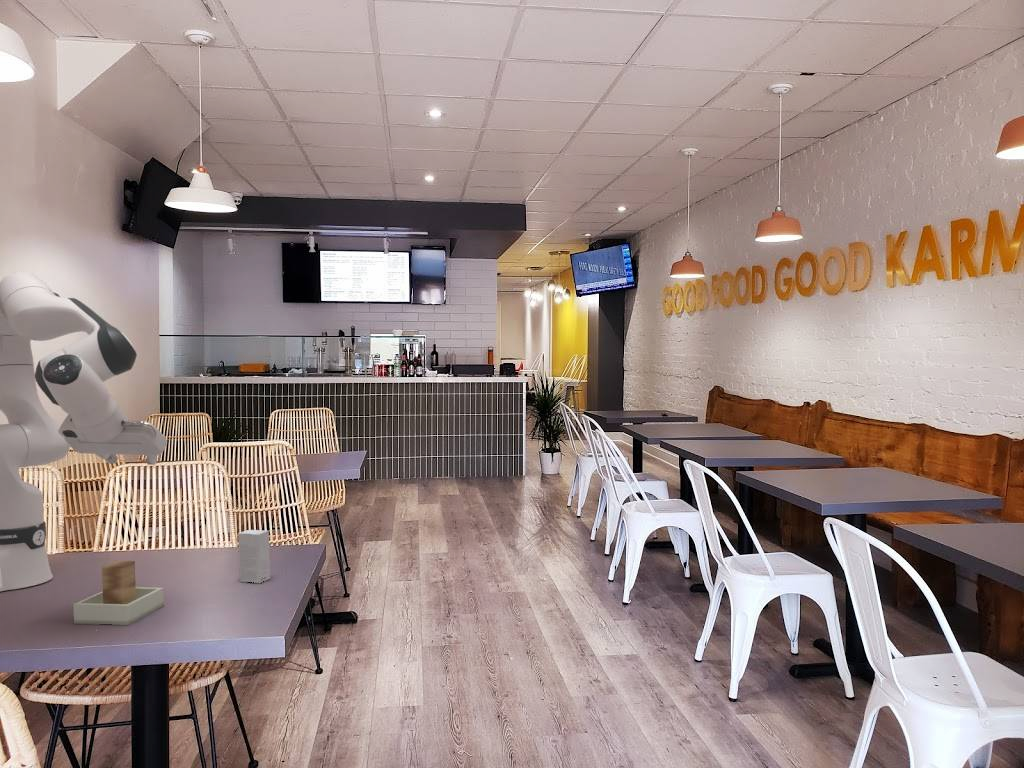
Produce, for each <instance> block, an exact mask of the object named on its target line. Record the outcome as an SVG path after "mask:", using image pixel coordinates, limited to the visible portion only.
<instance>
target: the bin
mask: <svg viewBox="0 0 1024 768" xmlns="http://www.w3.org/2000/svg"><path fill="white" fill-rule="evenodd" d="M164 598H165V597H164V587H143V586H140V587H139V586H136V600H135V601H133V602H131V603H129V604H103V590H102V591H100V592H97V593H94V594H93V595H91V596H88V597H86V598H84V599H82V600H80V601H78V602H75V603H73V624H76V625H99V624H112V625H111V626H130V625H132V624H134V623H136V622H138V621H140V620H141V619H143V618H145V617H147V616H148V615H150V614H152V613H154V612H156V611H157V610H159V609H161V608H163V607H165V605H164V604H165V603H164V602H165V601H164Z"/></svg>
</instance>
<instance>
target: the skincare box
mask: <svg viewBox="0 0 1024 768" xmlns="http://www.w3.org/2000/svg"><path fill="white" fill-rule="evenodd" d="M269 532H270V531H269V530H263V529H262V530H260V529H247V530H244V531H240V532H238V533H237V537H238V538H237V539H238V569H239V570H238V571H239V572H238V573H239V574H238V575H239V578H238V579H239V582H240V583H247V582H252V583H251V584H261V582H262V583H264V582H266V581H269V580H270V579H271V562H270V558H271V557H270V536H269V535H270V534H269ZM268 579H269V580H268ZM263 581H264V582H263ZM253 582H254V583H253Z"/></svg>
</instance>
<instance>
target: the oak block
mask: <svg viewBox="0 0 1024 768" xmlns="http://www.w3.org/2000/svg"><path fill="white" fill-rule="evenodd" d="M101 579H102V585H101V586H102V591H103V604H129V603H131V602H133V601H135V600H136V587H137V586H136V585H137V583H136V560H115V561H112V562H109V563H107V564H105V565H102V566H101Z"/></svg>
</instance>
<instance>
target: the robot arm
mask: <svg viewBox="0 0 1024 768" xmlns="http://www.w3.org/2000/svg"><path fill="white" fill-rule="evenodd" d="M79 332H84V333H86V334H87V336H85V337H83V338H81V339H79V340H76V341H75V342H73V343H71V344H68V345H67V346H64V347H62V348H60V349H58V350H55V351H54V352H52V353H50V354H48V355H46V356H44V357H43V358H41V359H40V360H39V361H38V362H37V365H36V368H35V364H34V357H33V356H34V355H33V351H32V345H31V341H35V342H36V341H38V342H45V341H49V340H53V339H58V338H60V337H63V336H66V335H69V334H70V335H71V334H73V333H79ZM136 351H137V350H136V348H135V346H134V344H133V343H132V341H131V340H130V338H129V337H128V336H127V335H126V334H125V333H124V332H122V331H120V330H119V329H118V328H117V327H115V326H113V325H111V324H109V323H108V322H107V321H106V320H105V319H103V318H102V317H101V316H100V315H99V314H97V313H96V312H95V311H94V310H93V309H91V308H90V307H89V306H87V305H86V304H85V303H84V302H82V301H80V300H79V299H77V298H75V297H61V295H60V294H58V293H57V292H54V291H53V289H51V288H50V286H49V285H48V284H47V283H46V282H44V281H43V280H42V279H41V278H39V277H38V276H37V275H35V274H33V273H30V272H27V271H16V272H11V273H10V274H7V275H5V276H4V277H3V278H2V279H1V281H0V412H1V413H2V414H4V415H5V417H6V419H7V423H5V424H4V423H3V424H1V423H0V592H5V591H10V590H19V589H23V588H29V587H33V586H36V585H41V584H43V583H46V582H48V581H50V580H52V579H53V578H54V575H53V573H52V569H51V567H50V566H51V565H50V562H49V557H48V553H47V548H46V538H47V526H46V521H45V520H44V496H43V492H42V490H41V489H40V488H39V487H37V486H36V485H34V484H32V483H29V482H26V481H24V480H23V478H22V477H21V474H20V469H21V468H29V467H36V466H44V465H48V464H51V463H55V462H58V461H60V460H63V459H64V458H65V457H66V456H67V455H68V453H69V451H70V448H71V449H72V450H73V451H74V452H77V453H80V454H92V455H93V454H95V456H96V457H97V456H98V457H99V458H100V459H103V460H105V461H106V463H107V464H108V465H109V464H113V465H114V464H117V461H118V459H119V457H118V456H117V455H123V456H124V455H126V456H128V455H130V456H145V457H146V458H145V459H144V462H145V463H146V464H147V465H149V466H155V465H156V464H157V462H158V457H157V456H161V455H162V454H163V452H164V451H165V449H166V447H167V445H168V439H167V438H166V436H164V435H163V433H162V432H161V431H160V430H159V428H157V427H156V426H154V424H152V423H150V422H147V421H143V420H137V421H136V420H135V421H134V420H129V418H128V415H127V413H126V412H125V410H124V408H122V406H121V405H120V403H119V402H118V400H117V399H116V398H115V397H114V396H113V395H111V394H110V393H109V390H108V387H107V385H106V383H104V382H106V381H108V380H110V379H111V378H114V377H115V376H119V375H121V374H124V373H126V372H129V371H131V370H132V369H133V366H134V364H135V362H136V359H137V356H138V355H137V354H138V353H137V352H136ZM37 385H38V387H39V388H40V390H41V391H42V392H43V393H44V394H45V396H46V397H47V398H48V399H49V401H50V402H51V403H52V404H53V405H55V406H58V407H60V408H61V409H62V411H64V412H65V413H66V414H67V416H66V417H65V418H64V420H63V421H62V423H60V422H58V421H56V419H54V418H53V417H52V416H51V415H50V414H49V413H48V412H47V411H46V409H45V408H44V406H43V404H42V402H41V399H40V396H39V394H38V388H37Z"/></svg>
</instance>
